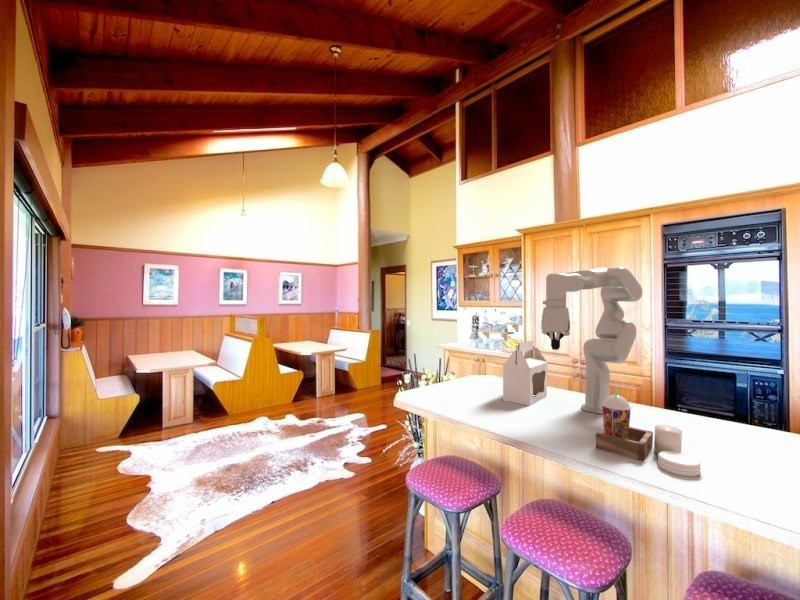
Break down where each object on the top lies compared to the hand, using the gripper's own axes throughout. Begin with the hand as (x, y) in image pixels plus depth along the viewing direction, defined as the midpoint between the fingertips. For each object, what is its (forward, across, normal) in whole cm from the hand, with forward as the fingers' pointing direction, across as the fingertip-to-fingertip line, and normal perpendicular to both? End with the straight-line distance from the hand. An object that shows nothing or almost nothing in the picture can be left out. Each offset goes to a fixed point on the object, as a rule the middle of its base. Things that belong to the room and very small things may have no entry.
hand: (555, 349), depth 148 cm
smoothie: (+29, +24, -11) cm, 40 cm away
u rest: (+29, +26, -10) cm, 40 cm away
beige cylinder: (+29, +38, -6) cm, 48 cm away
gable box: (+29, -23, +23) cm, 44 cm away
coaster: (+30, +42, -16) cm, 54 cm away
